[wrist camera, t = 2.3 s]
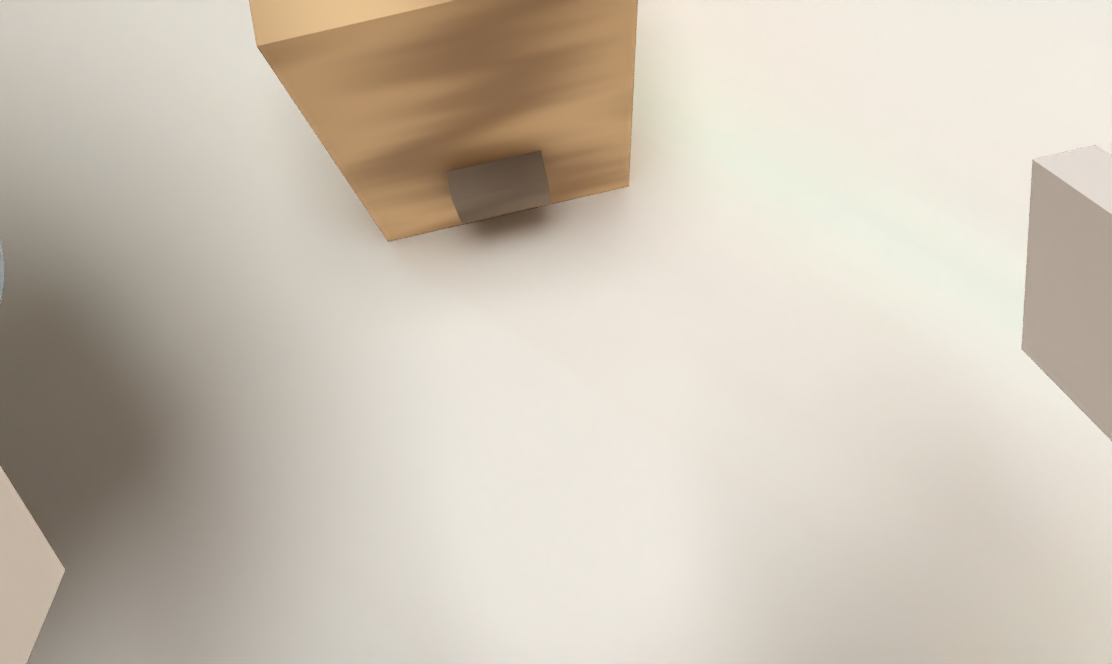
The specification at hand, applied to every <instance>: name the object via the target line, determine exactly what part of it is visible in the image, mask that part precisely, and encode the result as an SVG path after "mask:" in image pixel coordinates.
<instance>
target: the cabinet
mask: <svg viewBox="0 0 1112 664" xmlns="http://www.w3.org/2000/svg"><path fill="white" fill-rule="evenodd" d="M249 3H250V9H251V15H252V21H253V27H254V33H255V39H256V45H257V47H258V49H259V50H260V52H261V53H262V55H263V56H264V58H265V59H266V61H267V62H268V64H269V65H270V67H271V68H272V70H273V71H274V72H275V74H276V75H277V77H278V78H279V80H280V81H281V83H282V84H283V86H284V87H285V89H286V90H287V92H288V93H289V95H290V96H291V98H292V99H293V101H294V102H295V104H296V105H297V107H298V108H299V110H300V111H301V113H302V114H303V116H304V117H305V119H306V120H307V122H308V123H309V125H310V126H311V128H312V129H313V131H314V132H315V133H316V135H317V136H318V138H319V139H320V141H321V142H322V144H323V145H324V147H325V148H326V150H327V151H328V153H329V154H330V156H331V157H332V159H333V160H334V162H335V163H336V165H337V166H338V168H339V169H340V171H341V172H342V174H343V175H344V177H345V178H346V180H347V181H348V183H349V184H350V186H351V187H352V189H353V190H354V191H355V193H356V194H357V196H358V197H359V199H360V200H361V202H362V203H363V205H364V206H365V208H366V209H367V211H368V212H369V214H370V215H371V217H372V218H373V220H374V221H375V223H376V224H377V226H378V227H379V229H380V230H381V232H382V233H383V235H384V236H385V238H386V239H387V241H388V242H389V241H393V240H398V239H402V238H406V237H411V236H415V235H419V234H424V233H428V232H432V231H437V230H441V229H445V228H450V227H454V226H458V225H463V224H467V223H471V222H476V221H480V220H484V219H489V218H493V217H497V216H502V215H506V214H510V213H515V212H519V211H523V210H528V209H532V208H536V207H541V206H545V205H549V204H554V203H558V202H562V201H567V200H571V199H575V198H580V197H584V196H588V195H593V194H597V193H601V192H606V191H610V190H614V189H619V188H623V187H627V186H629V169H630V149H631V128H632V107H633V87H634V66H635V45H636V25H637V4H638V0H249Z"/></svg>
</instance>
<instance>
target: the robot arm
mask: <svg viewBox="0 0 1112 664" xmlns="http://www.w3.org/2000/svg"><path fill="white" fill-rule="evenodd" d="M3 286H4V257H3V251H2V244H1V239H0V303H1V298H2V292H3ZM1022 350H1023V351H1024V352H1025V353H1026V354H1027V355H1028V356H1029V357H1030V358H1031V359H1032V360H1033V361H1034V362H1035V363H1036V364H1037V365H1038V366H1039V367H1040V368H1041V369H1042V370H1043V371H1044V372H1045V374H1046V375H1047V376H1048V377H1049V378H1050V379H1051V380H1052V381H1053V382H1054V383H1055V384H1056V385H1057V386H1058V387H1059V388H1060V389H1061V390H1062V391H1063V392H1064V393H1065V394H1066V395H1067V396H1068V397H1069V398H1070V399H1071V400H1072V401H1073V402H1074V403H1075V404H1076V405H1077V406H1078V407H1079V408H1080V409H1081V410H1082V411H1083V412H1084V413H1085V414H1086V415H1087V416H1088V417H1089V418H1090V419H1091V420H1092V421H1093V422H1094V423H1095V425H1096V426H1097V427H1098V428H1099V429H1100V430H1101V431H1102V432H1103V433H1104V434H1105V435H1106V436H1107V437H1108V438H1109V439H1110V440H1111V441H1112V155H1110V154H1109V153H1107V152H1105V151H1104V150H1102V149H1101V148H1099V147H1097V146H1096V145H1093V146H1089V147H1084V148H1080V149H1076V150H1071V151H1067V152H1063V153H1058V154H1054V155H1050V156H1045V157H1041V158H1037V159H1033V161H1032V178H1031V196H1030V213H1029V230H1028V247H1027V264H1026V281H1025V299H1024V316H1023V333H1022ZM64 573H65V568H64V567H63V565H62V564H61V562H60V560H59V559H58V557H57V555H56V554H55V552H54V551H53V549H52V547H51V546H50V544H49V543H48V541H47V539H46V538H45V536H44V535H43V533H42V531H41V530H40V528H39V527H38V525H37V523H36V522H35V520H34V519H33V517H32V515H31V514H30V512H29V511H28V509H27V507H26V506H25V504H24V503H23V501H22V499H21V498H20V496H19V495H18V493H17V491H16V490H15V488H14V487H13V485H12V483H11V482H10V480H9V479H8V477H7V475H6V474H5V472H4V471H3V469H2V467H1V466H0V664H27V661H28V659H29V656H30V654H31V652H32V649H33V647H34V644H35V642H36V640H37V637H38V635H39V633H40V630H41V628H42V625H43V623H44V621H45V618H46V616H47V613H48V611H49V609H50V606H51V604H52V601H53V599H54V597H55V594H56V592H57V589H58V587H59V585H60V582H61V580H62V577H63V575H64Z"/></svg>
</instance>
